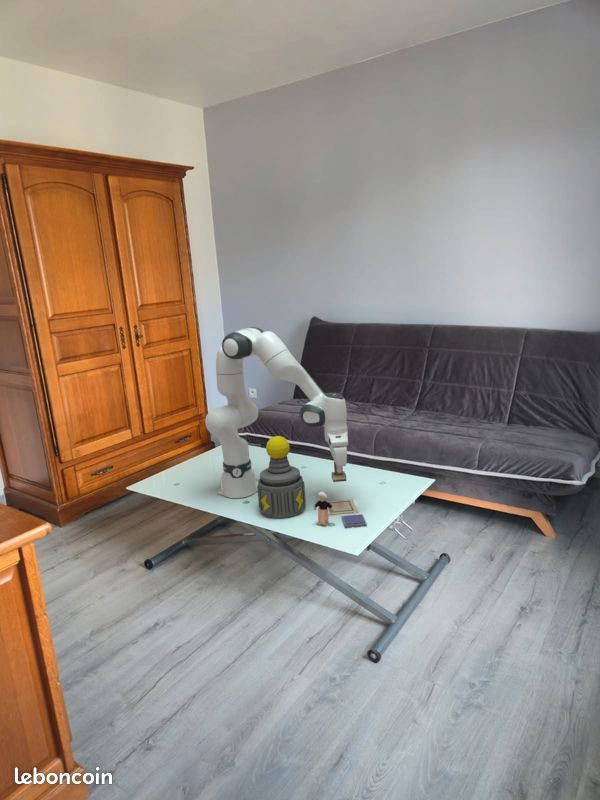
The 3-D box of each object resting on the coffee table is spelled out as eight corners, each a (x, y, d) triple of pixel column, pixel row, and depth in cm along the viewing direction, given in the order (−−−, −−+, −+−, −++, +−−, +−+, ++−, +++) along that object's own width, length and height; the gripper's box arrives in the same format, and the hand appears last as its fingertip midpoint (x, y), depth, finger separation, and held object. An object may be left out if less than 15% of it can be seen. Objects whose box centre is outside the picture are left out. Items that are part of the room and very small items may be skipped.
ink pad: (341, 518, 201) (341, 515, 201) (362, 516, 202) (362, 513, 201) (344, 528, 193) (344, 525, 193) (366, 526, 194) (366, 522, 194)
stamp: (331, 477, 210) (330, 460, 209) (344, 476, 211) (343, 459, 209) (333, 482, 206) (332, 464, 204) (346, 480, 206) (345, 463, 204)
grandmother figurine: (313, 526, 196) (311, 494, 194) (314, 521, 200) (312, 489, 197) (334, 526, 195) (332, 494, 192) (335, 522, 199) (333, 489, 196)
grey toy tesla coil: (280, 495, 226) (275, 427, 219) (316, 505, 214) (311, 433, 207) (248, 512, 212) (242, 439, 205) (285, 524, 200) (279, 447, 193)
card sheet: (323, 502, 216) (323, 501, 216) (352, 499, 217) (352, 498, 217) (326, 515, 205) (326, 514, 205) (358, 512, 205) (358, 511, 205)
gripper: (324, 428, 214) (326, 461, 217) (331, 443, 194) (333, 480, 197) (340, 427, 215) (342, 460, 218) (349, 442, 195) (350, 478, 198)
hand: (338, 469), depth 207 cm, fingers closed on stamp, 3 cm apart
